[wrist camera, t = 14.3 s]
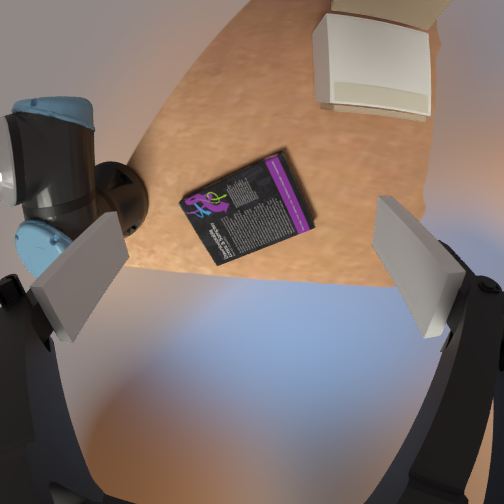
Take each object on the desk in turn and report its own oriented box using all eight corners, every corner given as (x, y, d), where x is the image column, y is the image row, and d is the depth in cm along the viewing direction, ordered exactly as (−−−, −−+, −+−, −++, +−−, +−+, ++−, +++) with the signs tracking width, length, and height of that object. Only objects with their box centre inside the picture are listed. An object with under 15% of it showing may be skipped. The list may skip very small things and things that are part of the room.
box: (282, 149, 45) (181, 196, 50) (284, 152, 42) (176, 203, 47) (313, 220, 51) (217, 258, 56) (316, 228, 48) (215, 268, 53)
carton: (314, 108, 40) (330, 110, 30) (311, 33, 34) (326, 12, 23) (394, 115, 39) (430, 123, 29) (393, 44, 33) (428, 33, 23)
